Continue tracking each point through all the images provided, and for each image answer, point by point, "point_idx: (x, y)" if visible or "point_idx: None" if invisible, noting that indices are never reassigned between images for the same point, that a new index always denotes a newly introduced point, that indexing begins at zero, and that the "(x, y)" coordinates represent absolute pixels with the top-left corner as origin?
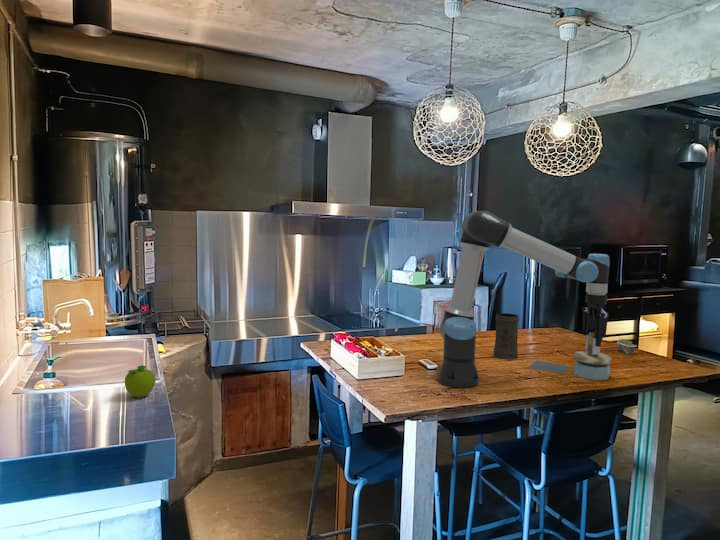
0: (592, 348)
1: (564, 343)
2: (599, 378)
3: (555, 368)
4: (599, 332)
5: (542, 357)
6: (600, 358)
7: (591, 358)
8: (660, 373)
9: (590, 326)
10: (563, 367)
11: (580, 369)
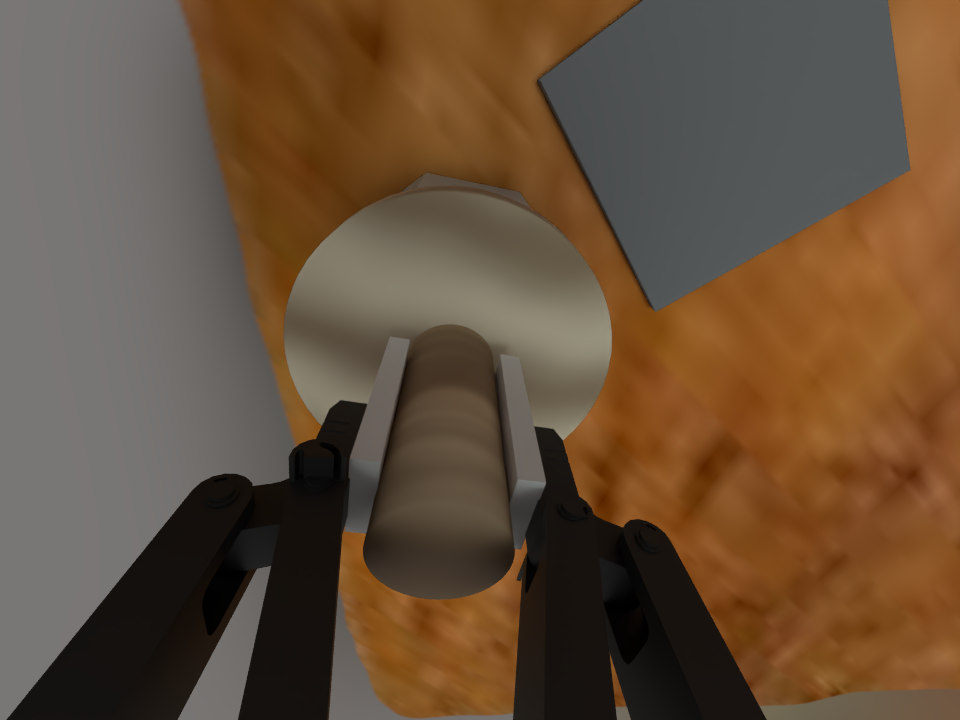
0: (414, 376)
1: (951, 582)
2: None
3: (679, 149)
4: (174, 553)
5: (924, 305)
6: (347, 356)
7: (359, 275)
8: (414, 601)
9: (532, 653)
10: (664, 237)
11: (435, 185)
